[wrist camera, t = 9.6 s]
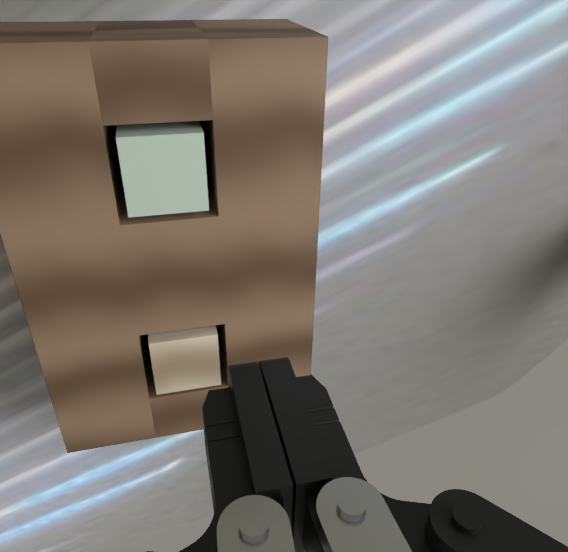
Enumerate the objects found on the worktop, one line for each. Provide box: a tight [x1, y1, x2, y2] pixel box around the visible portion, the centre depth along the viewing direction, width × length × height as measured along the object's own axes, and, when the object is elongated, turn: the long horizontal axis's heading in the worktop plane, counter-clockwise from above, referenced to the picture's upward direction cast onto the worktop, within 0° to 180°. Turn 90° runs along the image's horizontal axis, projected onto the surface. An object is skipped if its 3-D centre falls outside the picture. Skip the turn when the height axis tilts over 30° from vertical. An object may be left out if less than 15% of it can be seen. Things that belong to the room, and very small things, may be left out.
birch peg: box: [148, 325, 221, 395], centre depth 35 cm, size 4×4×8 cm
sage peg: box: [116, 121, 209, 218], centre depth 28 cm, size 4×4×8 cm
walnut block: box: [0, 19, 328, 453], centre depth 32 cm, size 24×16×8 cm, turn 0°
